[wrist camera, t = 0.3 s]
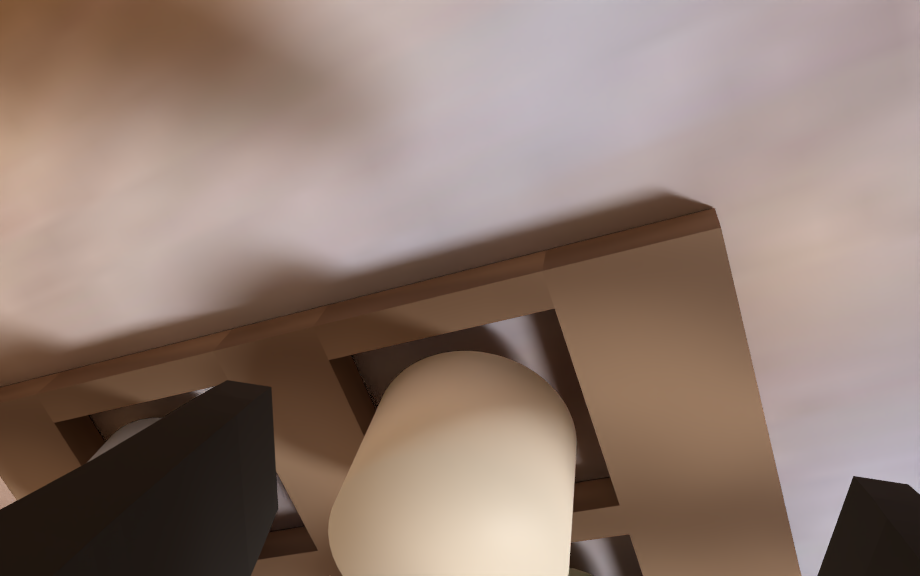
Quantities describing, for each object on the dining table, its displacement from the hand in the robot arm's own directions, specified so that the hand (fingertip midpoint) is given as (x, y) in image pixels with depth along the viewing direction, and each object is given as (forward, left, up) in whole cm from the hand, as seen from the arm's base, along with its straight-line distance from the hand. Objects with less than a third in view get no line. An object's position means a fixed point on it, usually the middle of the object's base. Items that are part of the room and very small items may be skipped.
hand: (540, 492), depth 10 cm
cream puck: (-5, +4, -9) cm, 10 cm away
